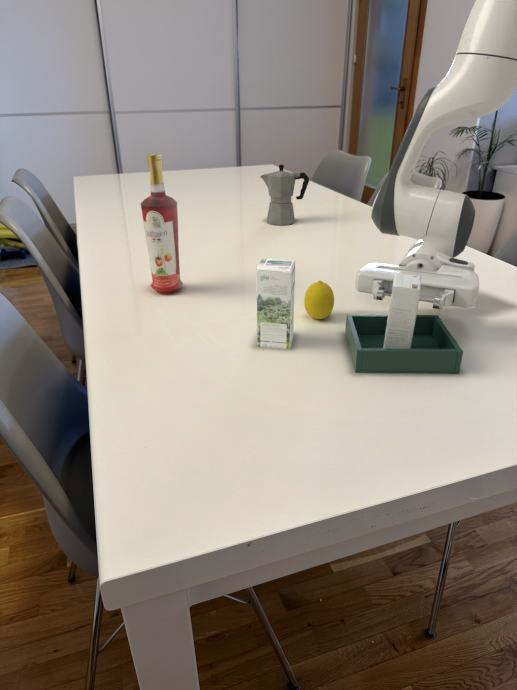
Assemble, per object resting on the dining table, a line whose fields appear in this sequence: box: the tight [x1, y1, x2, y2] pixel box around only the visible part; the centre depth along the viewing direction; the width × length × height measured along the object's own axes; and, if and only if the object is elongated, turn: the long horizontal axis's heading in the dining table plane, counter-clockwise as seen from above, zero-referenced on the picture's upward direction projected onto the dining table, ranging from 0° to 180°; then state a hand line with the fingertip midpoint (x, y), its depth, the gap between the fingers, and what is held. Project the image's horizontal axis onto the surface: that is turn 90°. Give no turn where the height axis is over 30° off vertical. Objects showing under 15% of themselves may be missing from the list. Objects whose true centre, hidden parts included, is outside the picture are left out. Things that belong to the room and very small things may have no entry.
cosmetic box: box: [383, 274, 421, 349], centre depth 81 cm, size 6×4×12 cm
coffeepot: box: [260, 164, 310, 226], centre depth 164 cm, size 15×9×18 cm, turn 87°
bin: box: [344, 313, 464, 375], centre depth 83 cm, size 16×14×4 cm
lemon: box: [303, 280, 335, 320], centre depth 95 cm, size 6×6×8 cm
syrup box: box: [255, 258, 296, 350], centre depth 85 cm, size 6×6×14 cm
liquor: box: [140, 153, 184, 295], centre depth 106 cm, size 7×7×28 cm
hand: (407, 300), depth 82 cm, fingers open, 8 cm apart
